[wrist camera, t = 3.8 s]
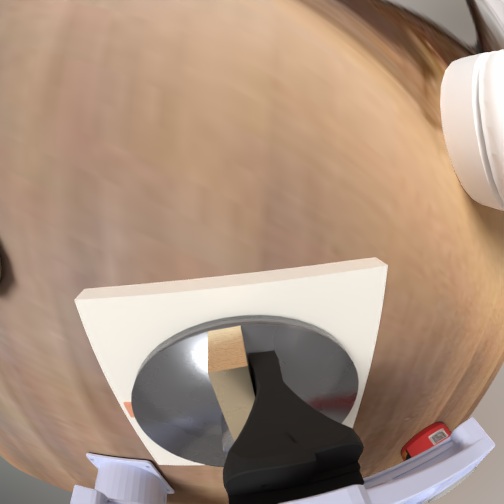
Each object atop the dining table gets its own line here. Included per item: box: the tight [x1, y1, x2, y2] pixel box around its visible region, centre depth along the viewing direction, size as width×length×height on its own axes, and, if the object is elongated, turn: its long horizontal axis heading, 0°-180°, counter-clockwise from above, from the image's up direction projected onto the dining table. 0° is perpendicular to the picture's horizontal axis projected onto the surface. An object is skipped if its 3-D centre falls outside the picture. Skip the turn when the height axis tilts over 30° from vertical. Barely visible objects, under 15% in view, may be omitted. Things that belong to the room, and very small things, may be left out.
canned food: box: [401, 422, 476, 503], centre depth 22 cm, size 8×8×11 cm
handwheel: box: [131, 315, 359, 467], centre depth 14 cm, size 15×15×4 cm
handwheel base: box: [75, 257, 388, 465], centre depth 17 cm, size 18×18×2 cm
